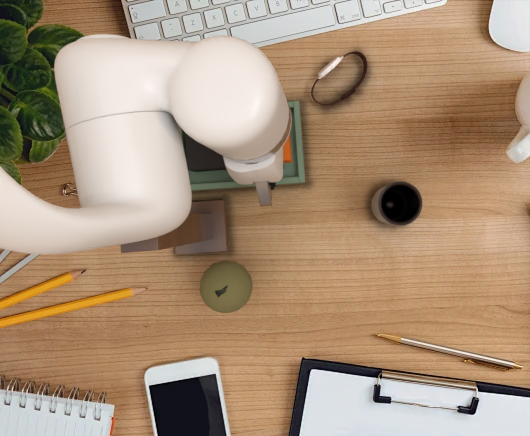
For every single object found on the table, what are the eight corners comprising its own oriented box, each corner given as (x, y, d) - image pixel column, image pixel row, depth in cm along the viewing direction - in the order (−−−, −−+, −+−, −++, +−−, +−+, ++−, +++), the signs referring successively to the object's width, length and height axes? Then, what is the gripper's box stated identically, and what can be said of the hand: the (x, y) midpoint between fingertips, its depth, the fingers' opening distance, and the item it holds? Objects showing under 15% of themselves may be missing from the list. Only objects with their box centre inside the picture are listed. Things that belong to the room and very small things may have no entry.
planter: (394, 178, 72) (405, 172, 62) (416, 209, 72) (431, 208, 62) (363, 200, 72) (369, 198, 62) (385, 231, 72) (395, 234, 62)
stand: (177, 254, 72) (103, 273, 48) (174, 203, 72) (97, 197, 48) (228, 250, 72) (178, 267, 48) (224, 200, 72) (173, 192, 48)
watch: (349, 45, 72) (350, 36, 69) (376, 74, 72) (378, 67, 69) (301, 89, 72) (300, 82, 69) (328, 118, 72) (328, 113, 69)
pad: (194, 172, 72) (187, 170, 69) (191, 129, 72) (184, 125, 68) (236, 169, 72) (232, 166, 69) (233, 126, 72) (229, 122, 69)
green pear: (243, 312, 72) (229, 327, 62) (203, 286, 72) (183, 298, 62) (268, 272, 72) (259, 281, 62) (229, 247, 72) (213, 252, 62)
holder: (184, 191, 72) (180, 191, 70) (178, 112, 72) (174, 109, 70) (305, 183, 72) (305, 182, 70) (299, 104, 72) (299, 100, 70)
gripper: (194, 19, 51) (230, 70, 70) (209, 221, 51) (241, 219, 70) (283, 13, 51) (295, 66, 70) (297, 215, 51) (306, 215, 70)
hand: (268, 142), depth 69 cm, fingers closed on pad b, 5 cm apart
